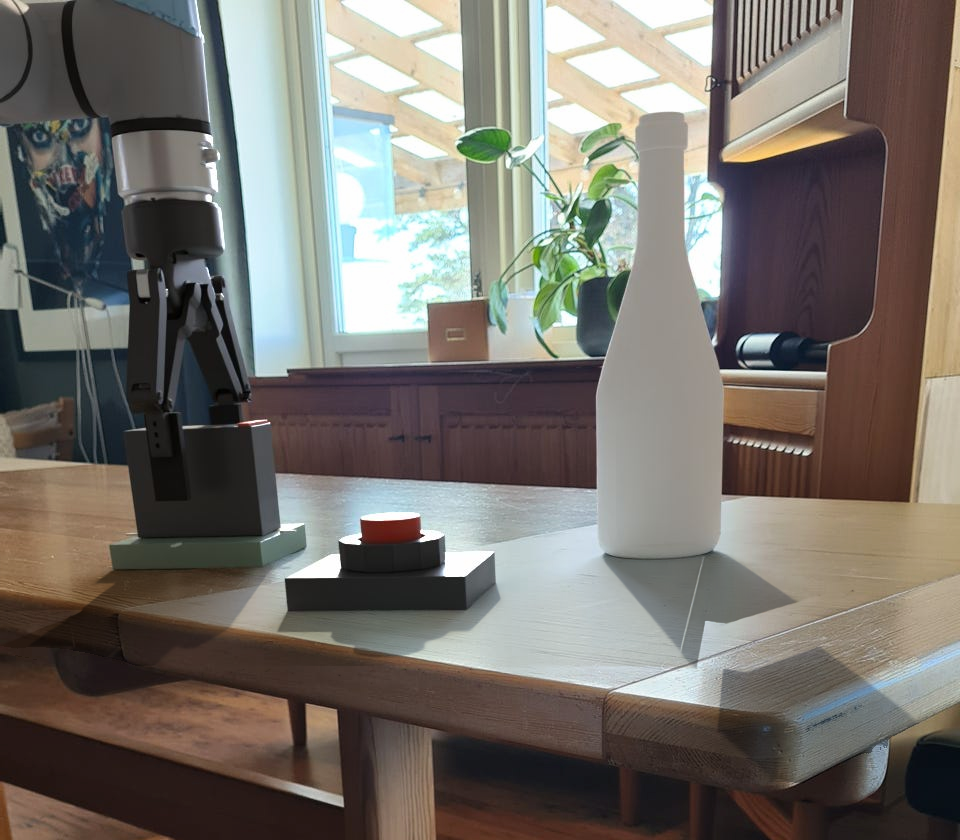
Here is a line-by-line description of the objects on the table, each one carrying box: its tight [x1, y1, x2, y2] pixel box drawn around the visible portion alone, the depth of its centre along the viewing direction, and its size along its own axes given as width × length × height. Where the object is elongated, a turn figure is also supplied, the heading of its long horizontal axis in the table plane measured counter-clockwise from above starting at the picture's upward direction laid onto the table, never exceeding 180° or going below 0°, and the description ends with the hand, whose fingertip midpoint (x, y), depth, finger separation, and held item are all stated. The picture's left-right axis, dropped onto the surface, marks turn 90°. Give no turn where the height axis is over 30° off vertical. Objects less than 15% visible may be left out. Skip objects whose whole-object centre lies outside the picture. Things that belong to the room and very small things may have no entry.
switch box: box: [284, 529, 497, 612], centre depth 86 cm, size 12×10×4 cm
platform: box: [108, 523, 308, 571], centre depth 108 cm, size 15×15×2 cm
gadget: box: [122, 419, 281, 538], centre depth 106 cm, size 11×4×9 cm, turn 79°
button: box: [359, 512, 422, 542], centre depth 85 cm, size 4×4×2 cm
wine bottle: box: [595, 111, 725, 560], centre depth 95 cm, size 10×10×30 cm
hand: (205, 492), depth 106 cm, fingers open, 12 cm apart
